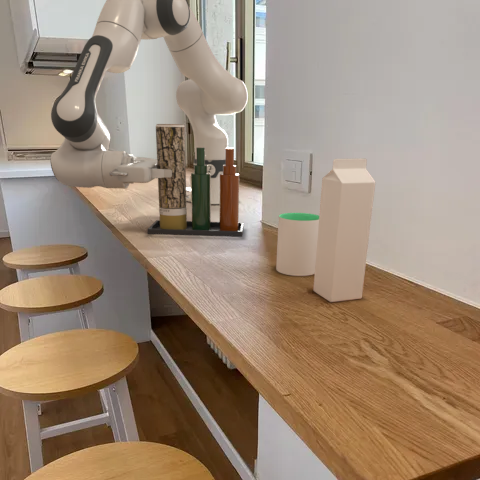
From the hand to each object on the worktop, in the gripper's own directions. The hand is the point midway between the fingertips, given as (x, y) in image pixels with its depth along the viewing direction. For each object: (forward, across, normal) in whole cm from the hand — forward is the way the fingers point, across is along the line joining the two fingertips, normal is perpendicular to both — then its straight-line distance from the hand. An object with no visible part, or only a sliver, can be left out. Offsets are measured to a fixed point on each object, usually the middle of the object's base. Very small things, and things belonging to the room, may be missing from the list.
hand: (175, 171), depth 120 cm
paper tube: (-1, 0, +15) cm, 15 cm away
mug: (+30, -30, +15) cm, 45 cm away
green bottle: (+6, 0, +14) cm, 16 cm away
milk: (+34, -45, +15) cm, 59 cm away
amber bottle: (+13, 0, +14) cm, 20 cm away
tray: (+5, 0, +15) cm, 16 cm away
